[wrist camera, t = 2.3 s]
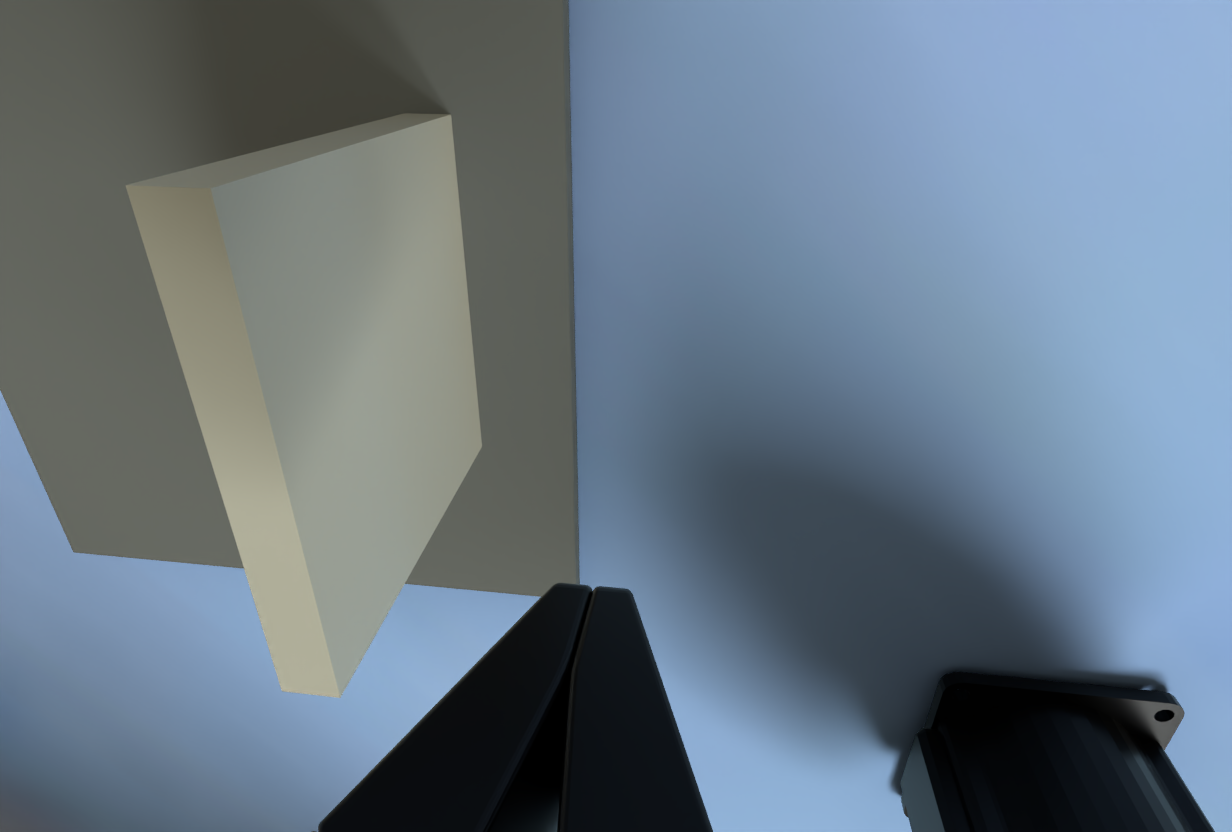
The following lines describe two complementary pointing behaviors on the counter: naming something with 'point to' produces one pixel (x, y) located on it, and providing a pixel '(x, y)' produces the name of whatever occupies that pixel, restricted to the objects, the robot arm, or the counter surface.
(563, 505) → the mat
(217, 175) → the tile
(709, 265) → the counter surface
